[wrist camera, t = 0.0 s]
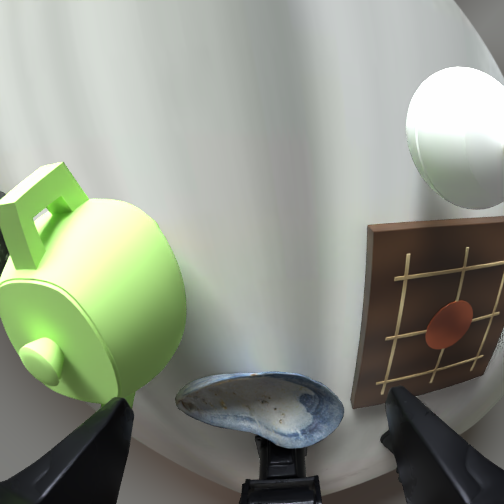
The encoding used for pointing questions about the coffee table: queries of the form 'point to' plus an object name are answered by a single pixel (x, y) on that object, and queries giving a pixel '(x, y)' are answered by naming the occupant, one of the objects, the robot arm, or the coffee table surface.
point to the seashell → (265, 406)
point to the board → (429, 305)
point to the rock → (3, 247)
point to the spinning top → (459, 136)
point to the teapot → (87, 289)
